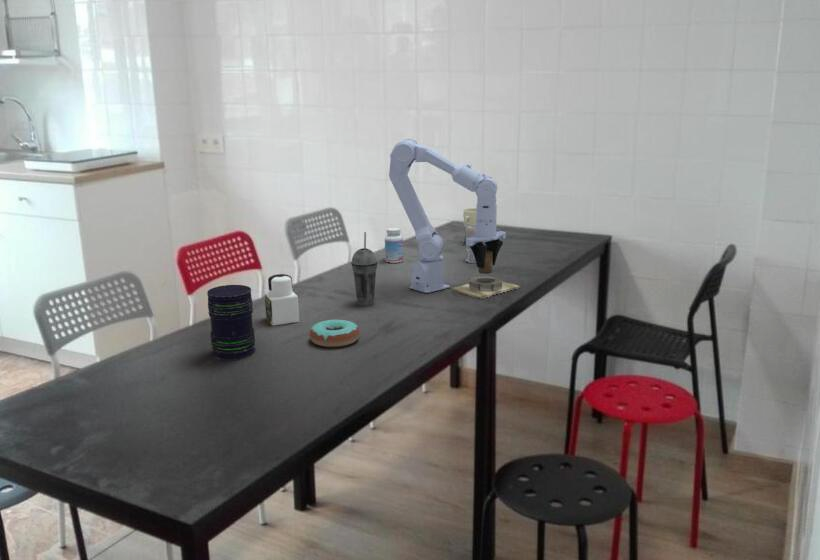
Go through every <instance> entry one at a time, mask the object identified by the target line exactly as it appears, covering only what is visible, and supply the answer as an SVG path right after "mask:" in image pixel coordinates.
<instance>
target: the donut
mask: <svg viewBox="0 0 820 560" xmlns="http://www.w3.org/2000/svg"><path fill="white" fill-rule="evenodd" d="M359 336H360V329H359V327H358V325H357V324H356V323H354V322H353V321H349V320H344V319H328V320H323V321H319V322H317V323H315V324H314V325H312V327H311V328H310V330H309V339H310V340H311V342H312V343H313V344H315V345H317V346H320V347H323V348H342V347H346V346H350V345H352V344H353V343H355V342H356V341H358V339H359Z"/></svg>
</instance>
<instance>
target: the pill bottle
mask: <svg viewBox="0 0 820 560" xmlns="http://www.w3.org/2000/svg"><path fill="white" fill-rule="evenodd" d="M386 234H387V235H386V236H385V237H384V255H385V256H384V259H385V262H386V263H388V262H390V263H389V264H400V263H402V262H404V240H403V239H404V238H403V236H402V235H401V228H400V227H390V228H386ZM399 262H400V263H399Z"/></svg>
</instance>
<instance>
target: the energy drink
mask: <svg viewBox="0 0 820 560" xmlns="http://www.w3.org/2000/svg"><path fill="white" fill-rule="evenodd" d="M465 234H466V238H470V237H472V236H474V235H476V225H470V226H467V227H465ZM465 262H466V263H467V262H468V264H476V260H475V257H474V254H473V252H472V250H471V248H470V246H468V245H466V244H465Z"/></svg>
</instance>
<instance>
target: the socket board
mask: <svg viewBox="0 0 820 560" xmlns="http://www.w3.org/2000/svg"><path fill="white" fill-rule="evenodd" d="M468 282H469V283H466V284H463V285H459V286H458V285H457V286H454V287H451V291H452V292H454V293H459V294H461V293H462V295H465V296H469V297H473V298H475V299H479V298H480V300H484V299H486V297H488V298H491V297H493V296H492V295H495V296H497V295H496V294H498V295H501V294H500V293H502V294H504V293H503V292H505V293H508V292H507V291H509V292H511V291H510V290H512V291H515V290H514V289H516V290H518V288H519V289H520V285H517V284H514V283H509V282H505V281H503V278H500V277H495V276H490V275H489V276H487V275H484V276H483V275H480V276H475V277H471V278H469V281H468ZM490 296H491V297H490ZM483 298H484V299H483Z"/></svg>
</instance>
